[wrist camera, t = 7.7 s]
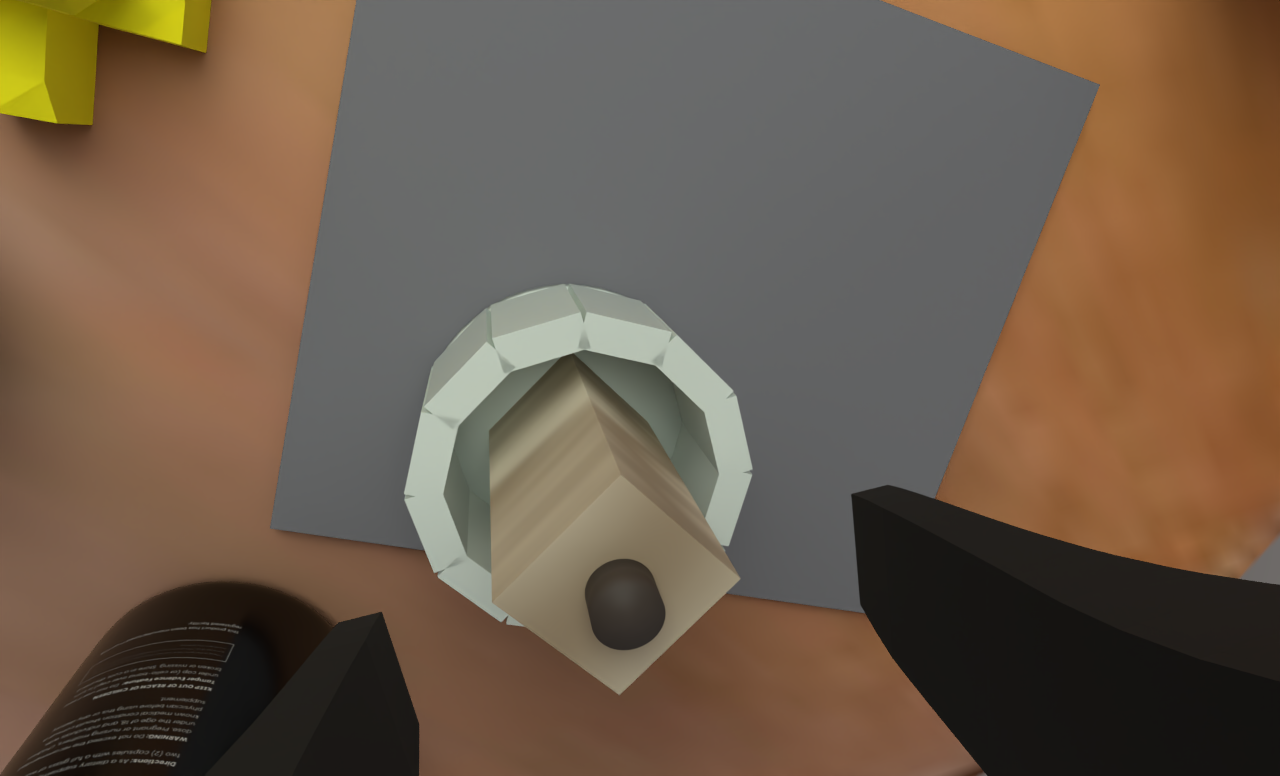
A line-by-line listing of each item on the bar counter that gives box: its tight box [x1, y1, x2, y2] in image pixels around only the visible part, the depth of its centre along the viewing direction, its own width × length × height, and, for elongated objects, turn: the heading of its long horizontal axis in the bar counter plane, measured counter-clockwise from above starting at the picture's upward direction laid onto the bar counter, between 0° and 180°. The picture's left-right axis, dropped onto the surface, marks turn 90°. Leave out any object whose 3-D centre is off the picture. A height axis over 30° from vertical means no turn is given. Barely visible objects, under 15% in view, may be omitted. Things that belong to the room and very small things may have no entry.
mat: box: [270, 0, 1100, 613], centre depth 21 cm, size 19×17×1 cm
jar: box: [404, 283, 753, 627], centre depth 19 cm, size 8×8×4 cm
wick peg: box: [489, 353, 741, 695], centre depth 16 cm, size 3×3×9 cm
